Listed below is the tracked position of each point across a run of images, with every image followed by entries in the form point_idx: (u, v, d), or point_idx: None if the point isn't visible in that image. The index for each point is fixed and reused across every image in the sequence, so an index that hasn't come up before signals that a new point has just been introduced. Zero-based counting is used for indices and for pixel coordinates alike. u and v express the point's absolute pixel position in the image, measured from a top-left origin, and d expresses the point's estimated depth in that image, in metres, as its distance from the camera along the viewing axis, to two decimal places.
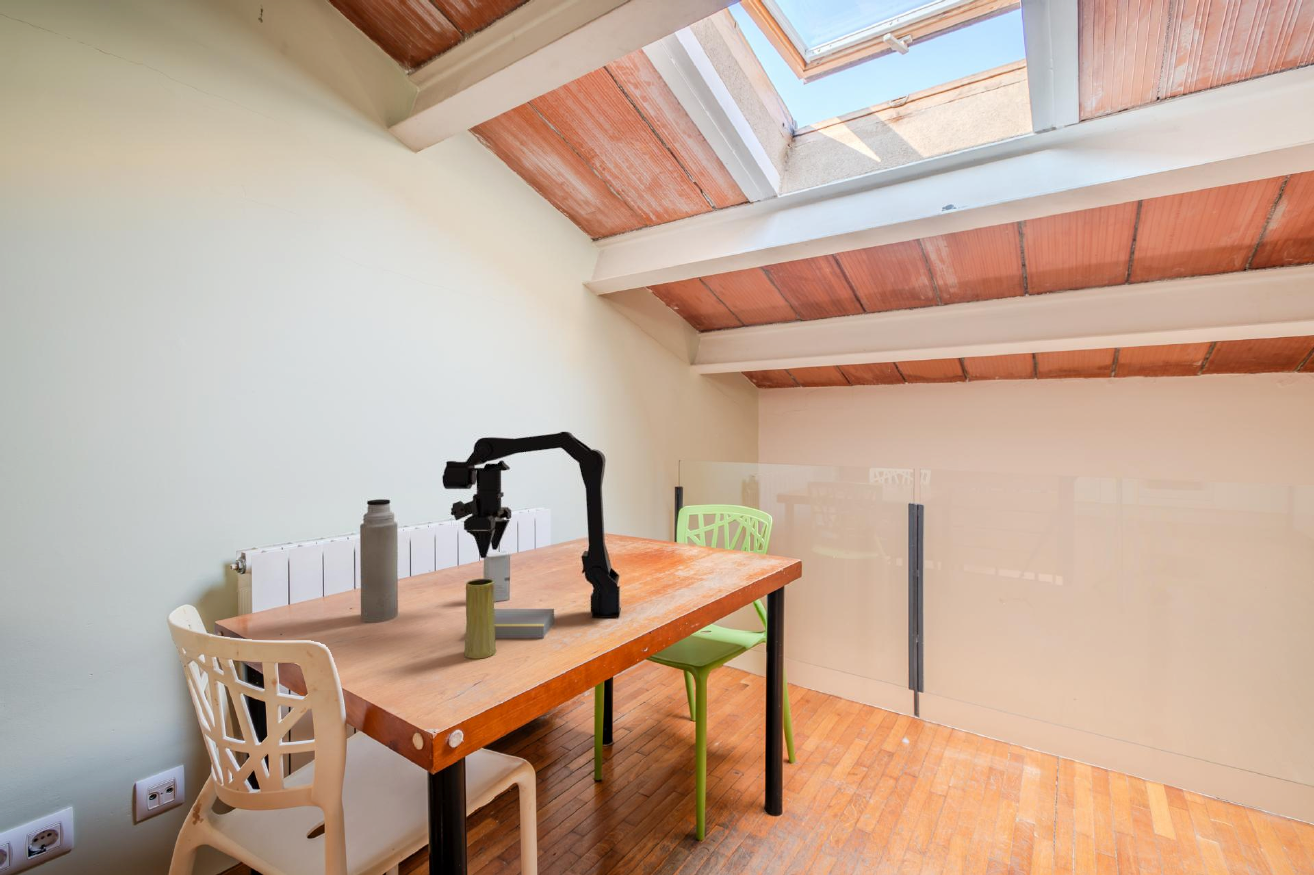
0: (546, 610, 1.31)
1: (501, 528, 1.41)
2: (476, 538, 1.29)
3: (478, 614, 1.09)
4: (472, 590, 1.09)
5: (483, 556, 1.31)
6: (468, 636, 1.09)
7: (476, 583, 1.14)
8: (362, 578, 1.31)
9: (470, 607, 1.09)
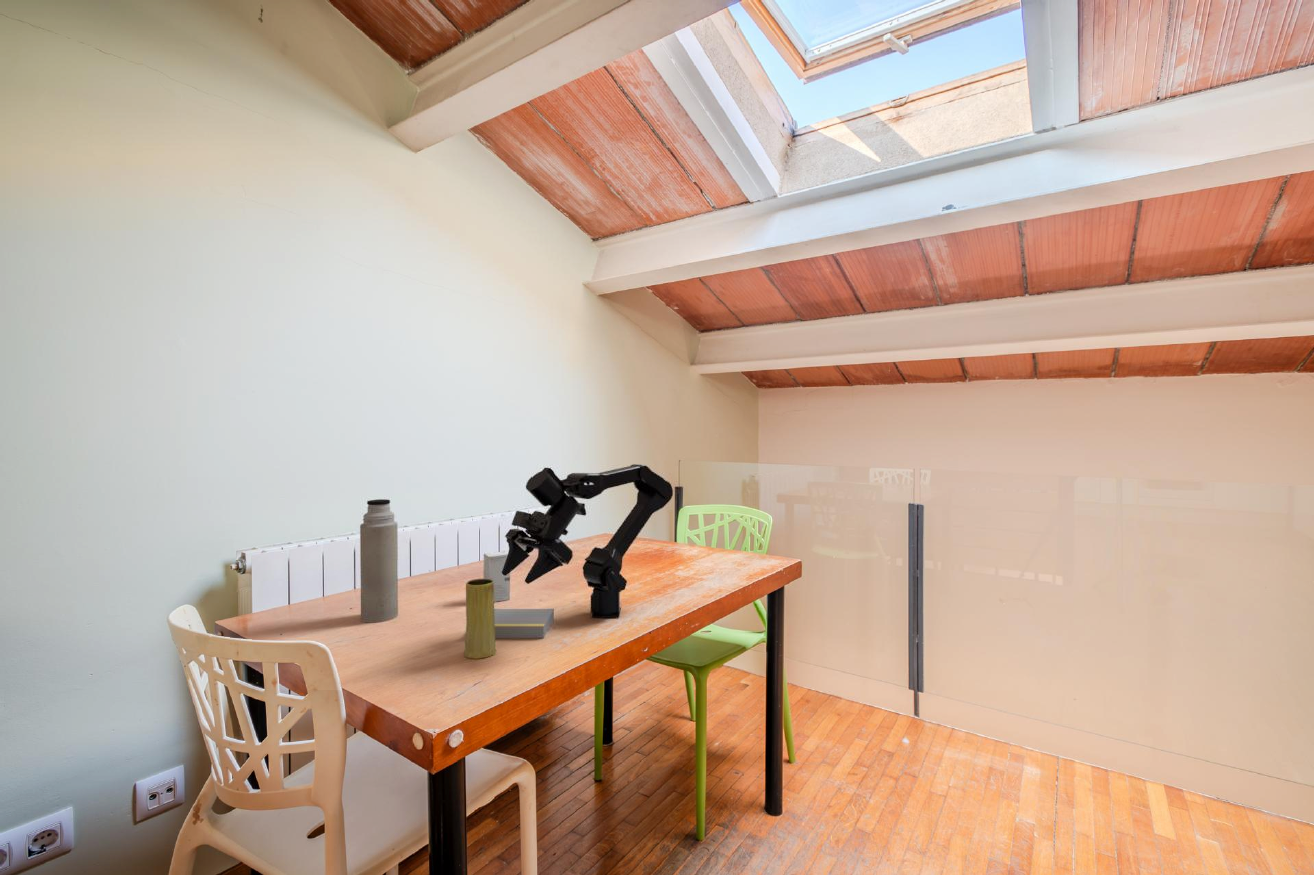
0: (546, 610, 1.31)
1: (521, 558, 1.25)
2: (541, 561, 1.15)
3: (478, 614, 1.09)
4: (472, 590, 1.09)
5: (528, 581, 1.15)
6: (468, 636, 1.09)
7: (476, 583, 1.14)
8: (362, 578, 1.31)
9: (470, 607, 1.09)
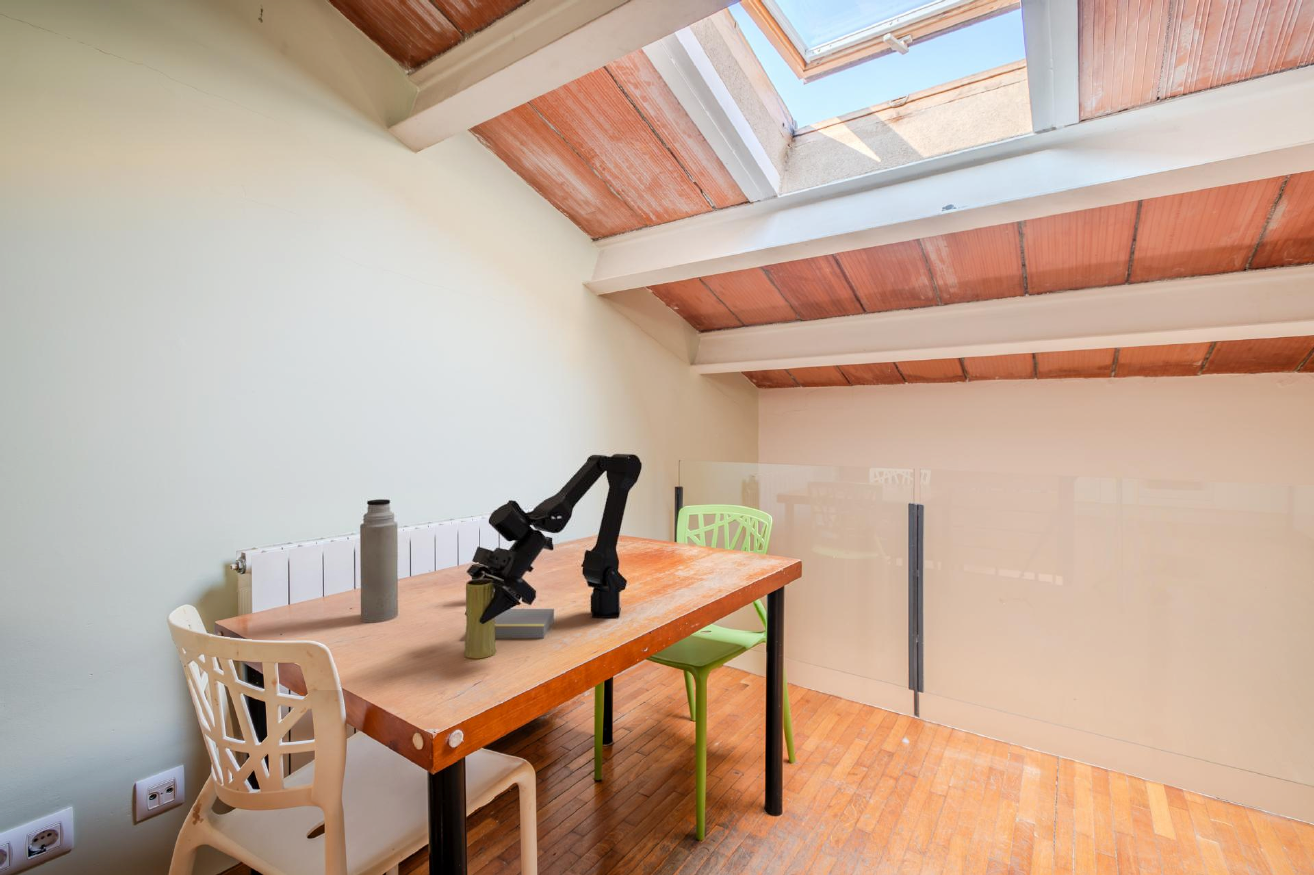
0: (546, 610, 1.31)
1: None
2: (497, 600, 1.10)
3: (478, 614, 1.09)
4: (472, 590, 1.09)
5: (483, 621, 1.09)
6: (468, 636, 1.09)
7: (476, 583, 1.14)
8: (362, 578, 1.31)
9: (470, 607, 1.09)
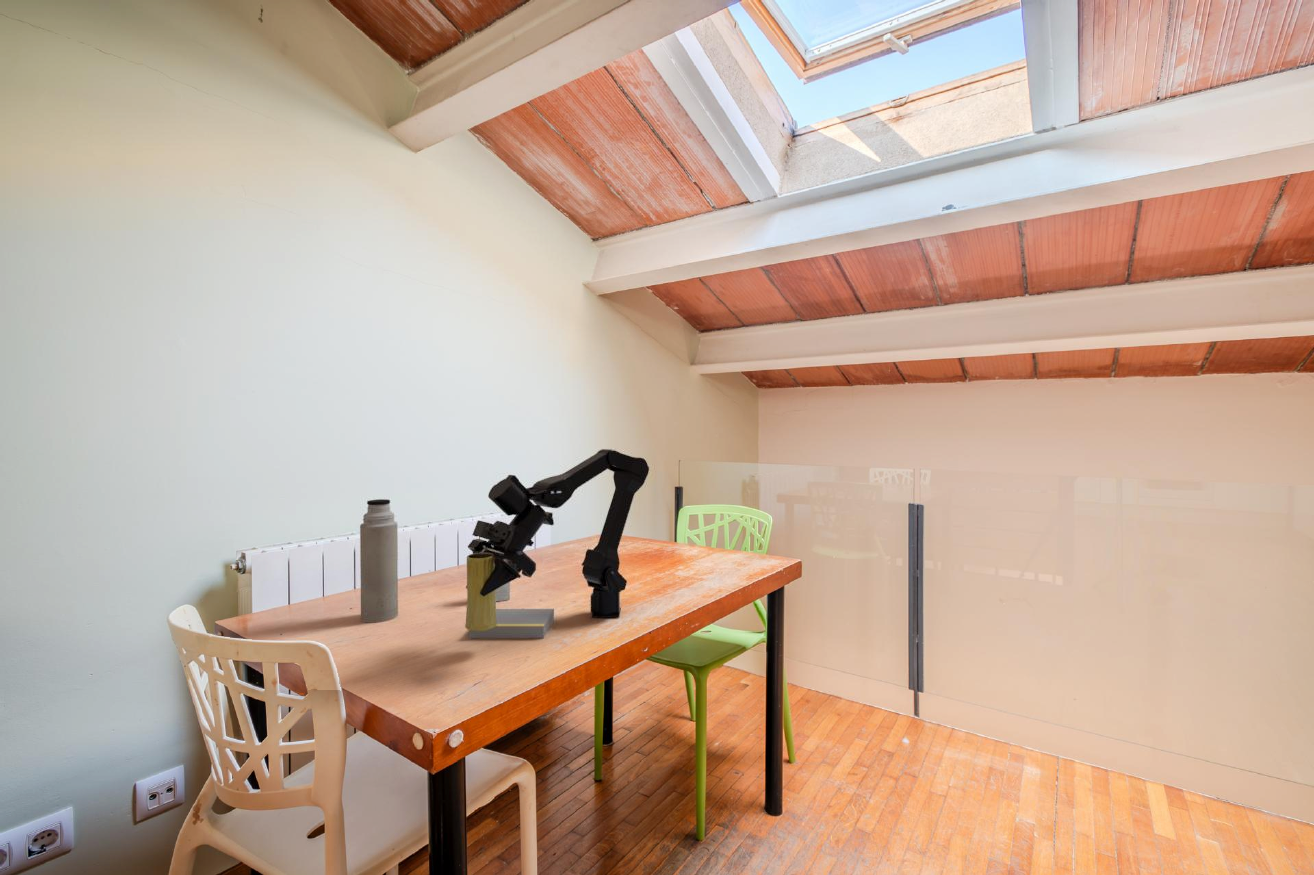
0: (546, 610, 1.31)
1: None
2: (498, 572, 1.10)
3: (479, 587, 1.10)
4: (473, 563, 1.10)
5: (484, 594, 1.10)
6: (469, 609, 1.10)
7: (477, 557, 1.14)
8: (362, 578, 1.31)
9: (471, 580, 1.10)
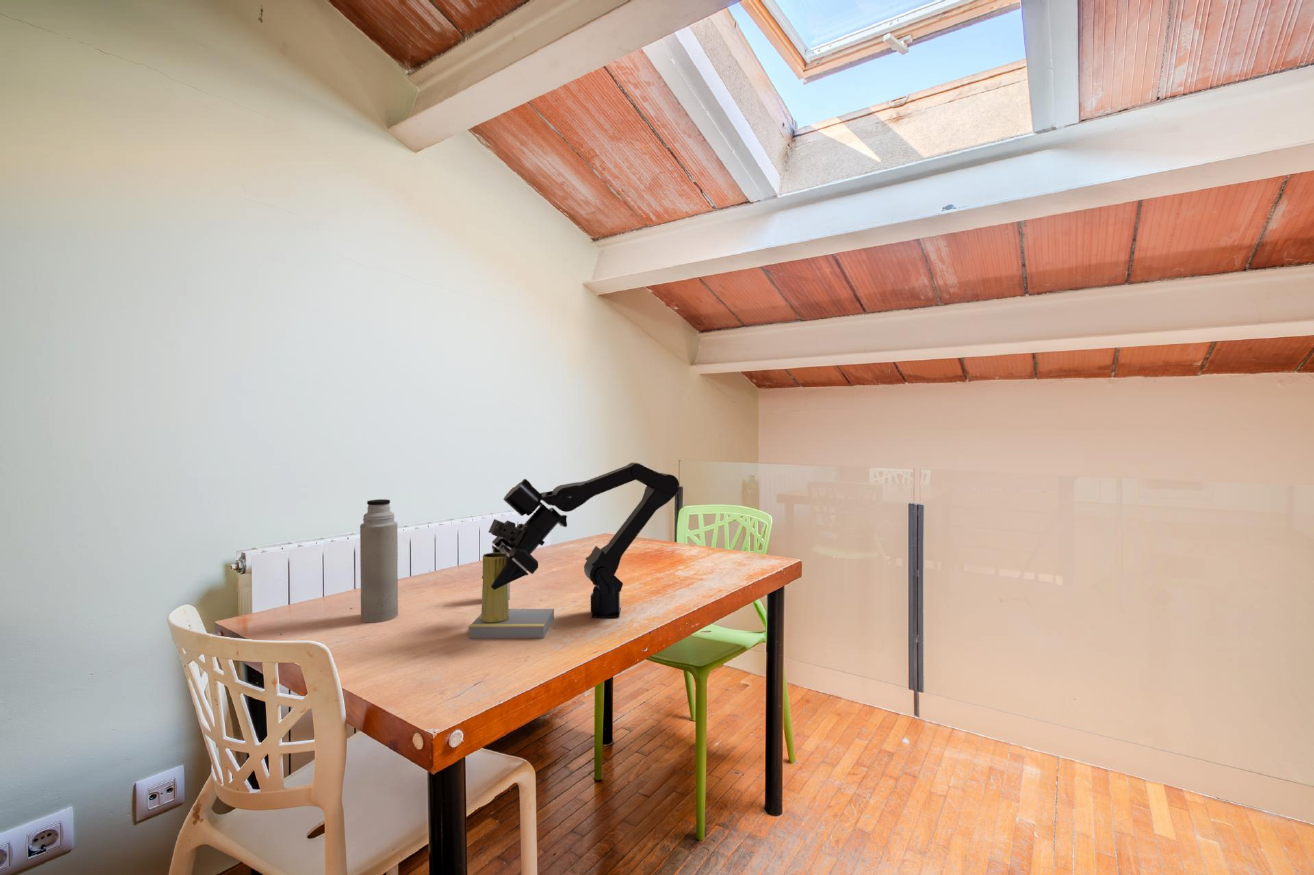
0: (546, 610, 1.31)
1: None
2: (507, 569, 1.20)
3: (490, 583, 1.22)
4: (486, 561, 1.23)
5: (494, 587, 1.20)
6: (483, 602, 1.23)
7: (494, 556, 1.27)
8: (362, 578, 1.31)
9: (484, 576, 1.23)
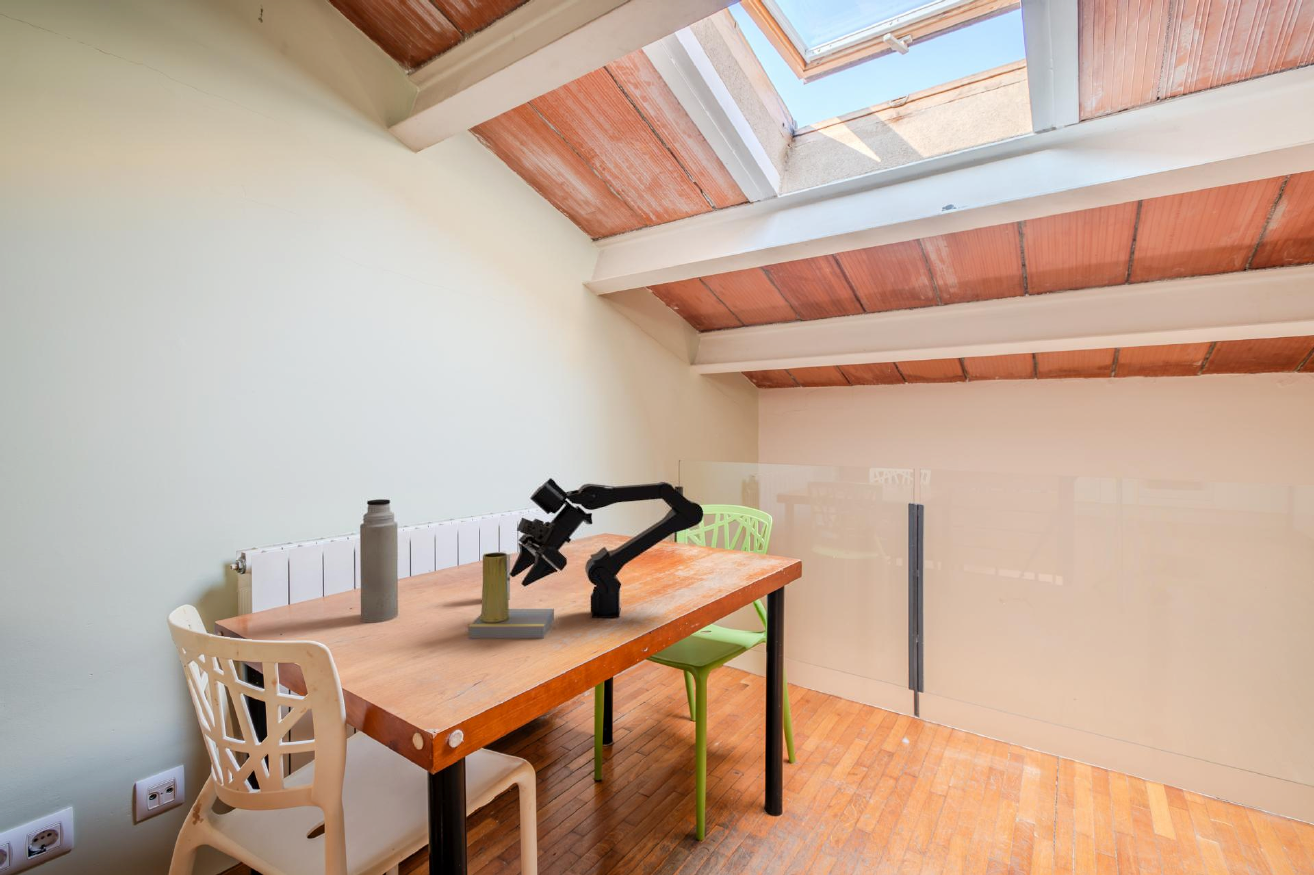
0: (546, 610, 1.31)
1: (530, 562, 1.34)
2: (536, 566, 1.23)
3: (490, 583, 1.22)
4: (486, 561, 1.23)
5: (524, 584, 1.23)
6: (483, 602, 1.23)
7: (494, 556, 1.27)
8: (362, 578, 1.31)
9: (484, 576, 1.23)
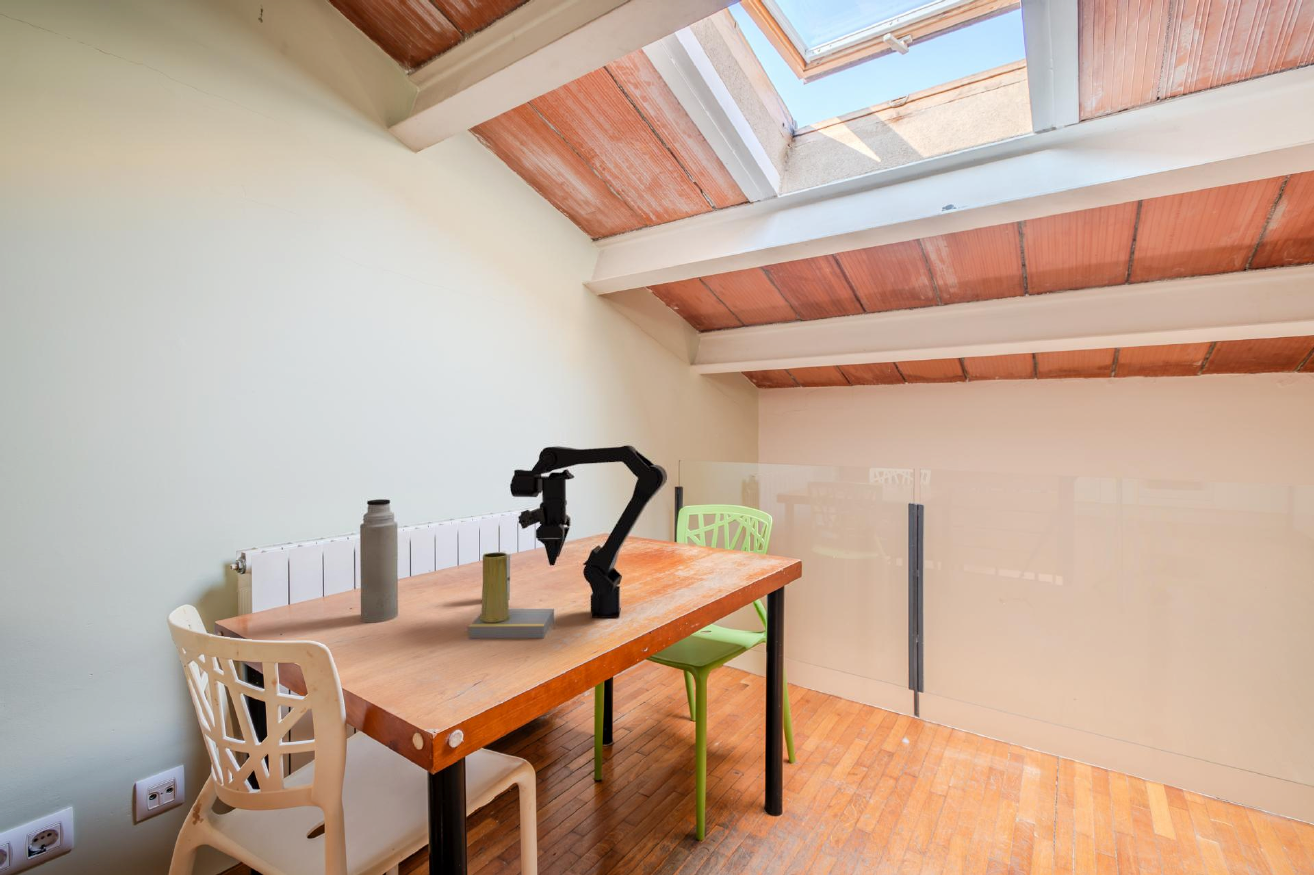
0: (546, 610, 1.31)
1: None
2: (546, 546, 1.32)
3: (490, 583, 1.22)
4: (486, 561, 1.23)
5: (552, 563, 1.33)
6: (483, 602, 1.23)
7: (494, 556, 1.27)
8: (362, 578, 1.31)
9: (484, 576, 1.23)
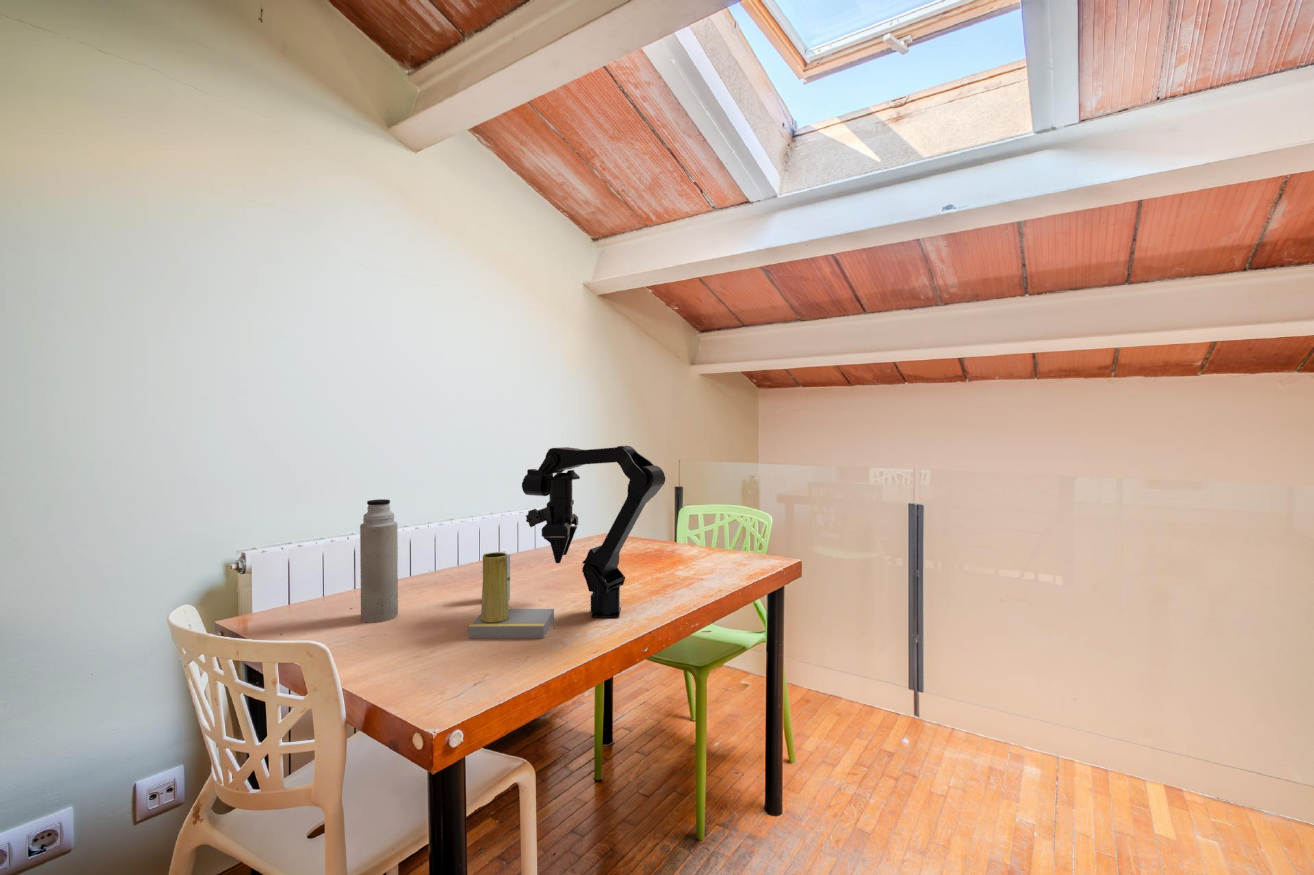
0: (546, 610, 1.31)
1: (570, 534, 1.47)
2: (552, 544, 1.35)
3: (490, 583, 1.22)
4: (486, 561, 1.23)
5: (558, 561, 1.37)
6: (483, 602, 1.23)
7: (494, 556, 1.27)
8: (362, 578, 1.31)
9: (484, 576, 1.23)
